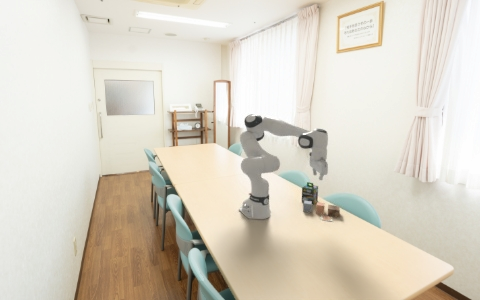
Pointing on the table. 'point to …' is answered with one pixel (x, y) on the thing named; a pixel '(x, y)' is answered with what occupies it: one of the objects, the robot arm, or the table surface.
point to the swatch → (326, 218)
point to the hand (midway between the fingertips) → (317, 177)
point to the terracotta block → (320, 208)
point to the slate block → (307, 206)
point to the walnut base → (333, 210)
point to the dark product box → (310, 193)
